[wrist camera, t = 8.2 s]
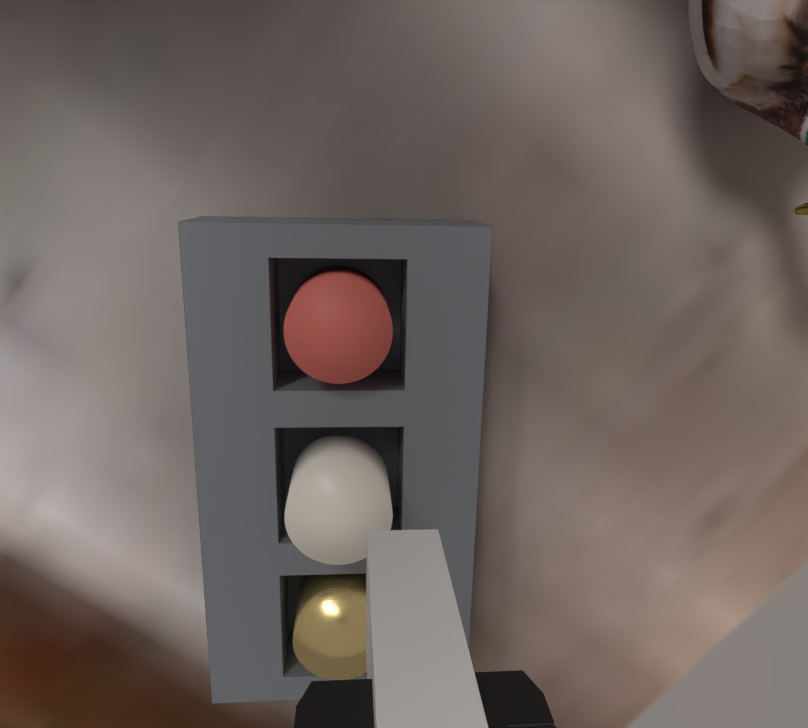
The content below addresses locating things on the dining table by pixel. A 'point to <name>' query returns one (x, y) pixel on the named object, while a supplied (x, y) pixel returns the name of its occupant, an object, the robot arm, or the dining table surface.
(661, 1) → the dining table surface
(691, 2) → the decorative duck model
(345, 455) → the ivory button
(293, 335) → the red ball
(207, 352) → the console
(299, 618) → the gold rounded piece
